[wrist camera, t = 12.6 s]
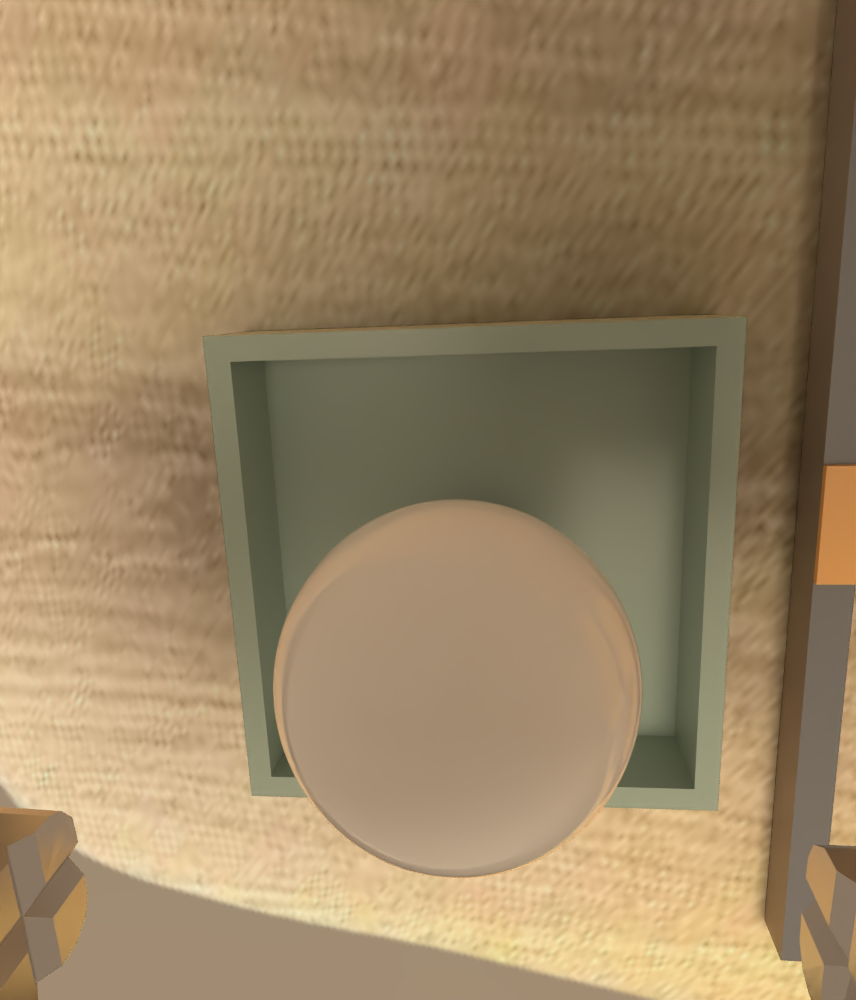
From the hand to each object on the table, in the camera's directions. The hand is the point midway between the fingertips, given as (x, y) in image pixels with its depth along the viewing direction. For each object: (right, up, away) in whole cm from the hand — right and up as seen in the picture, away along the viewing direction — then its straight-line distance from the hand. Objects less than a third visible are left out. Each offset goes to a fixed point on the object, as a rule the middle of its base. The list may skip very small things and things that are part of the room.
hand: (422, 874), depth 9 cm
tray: (+1, +3, +13) cm, 14 cm away
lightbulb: (+1, +3, +13) cm, 13 cm away
